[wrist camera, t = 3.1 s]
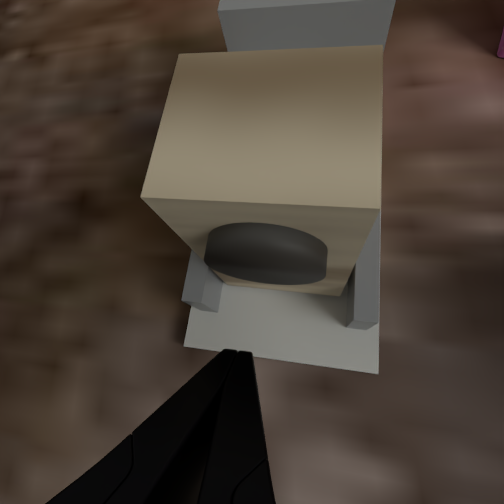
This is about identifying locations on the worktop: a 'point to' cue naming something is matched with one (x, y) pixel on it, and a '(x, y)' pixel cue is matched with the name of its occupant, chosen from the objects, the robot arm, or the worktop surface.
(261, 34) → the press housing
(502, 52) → the gum box
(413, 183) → the worktop surface
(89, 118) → the worktop surface
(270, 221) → the beige cube with disc
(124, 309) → the worktop surface
